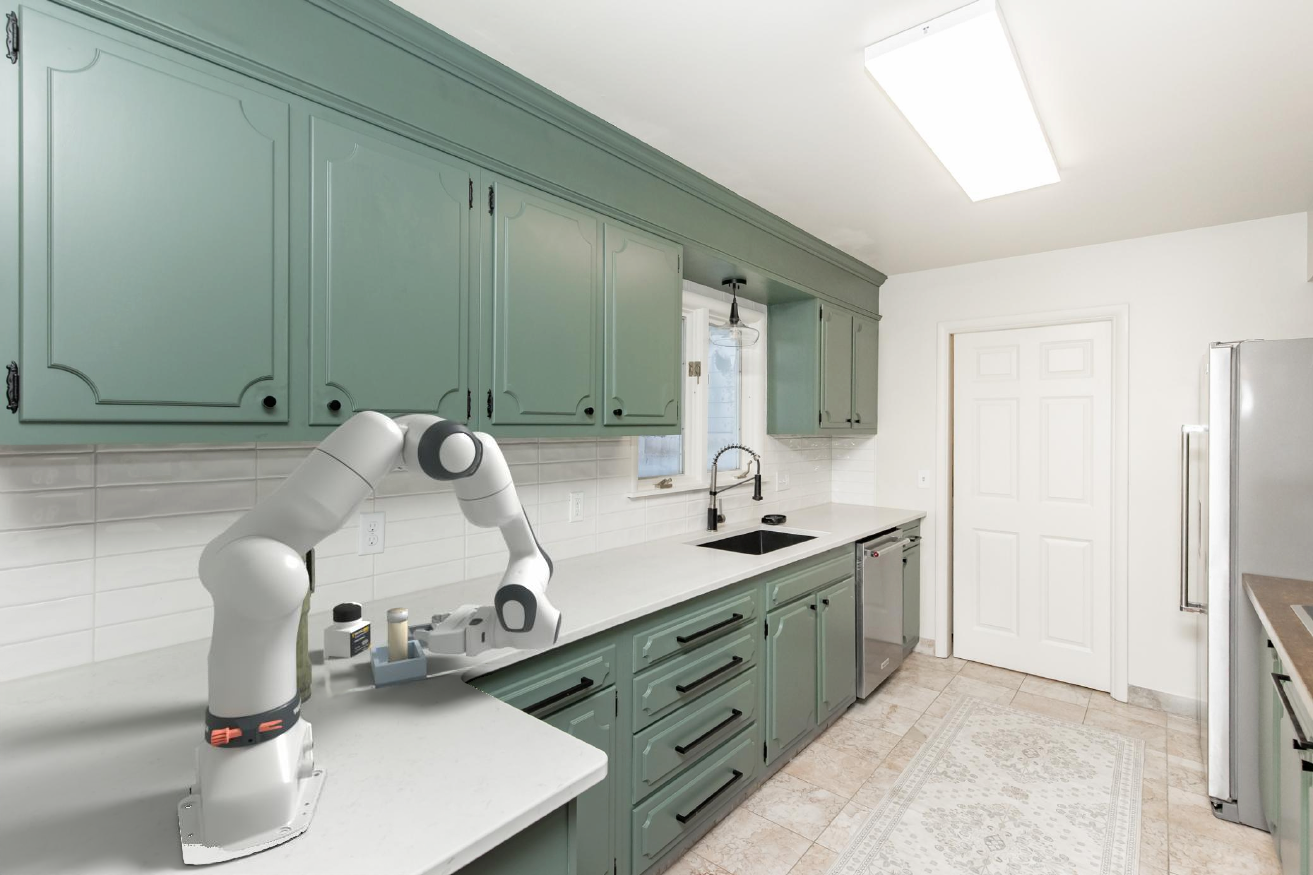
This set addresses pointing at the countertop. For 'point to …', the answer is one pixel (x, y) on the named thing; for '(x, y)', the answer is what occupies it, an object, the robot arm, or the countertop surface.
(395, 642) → the fuse
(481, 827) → the countertop surface
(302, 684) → the thermos
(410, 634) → the socket block
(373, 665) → the parts tray
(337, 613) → the medicine bottle
